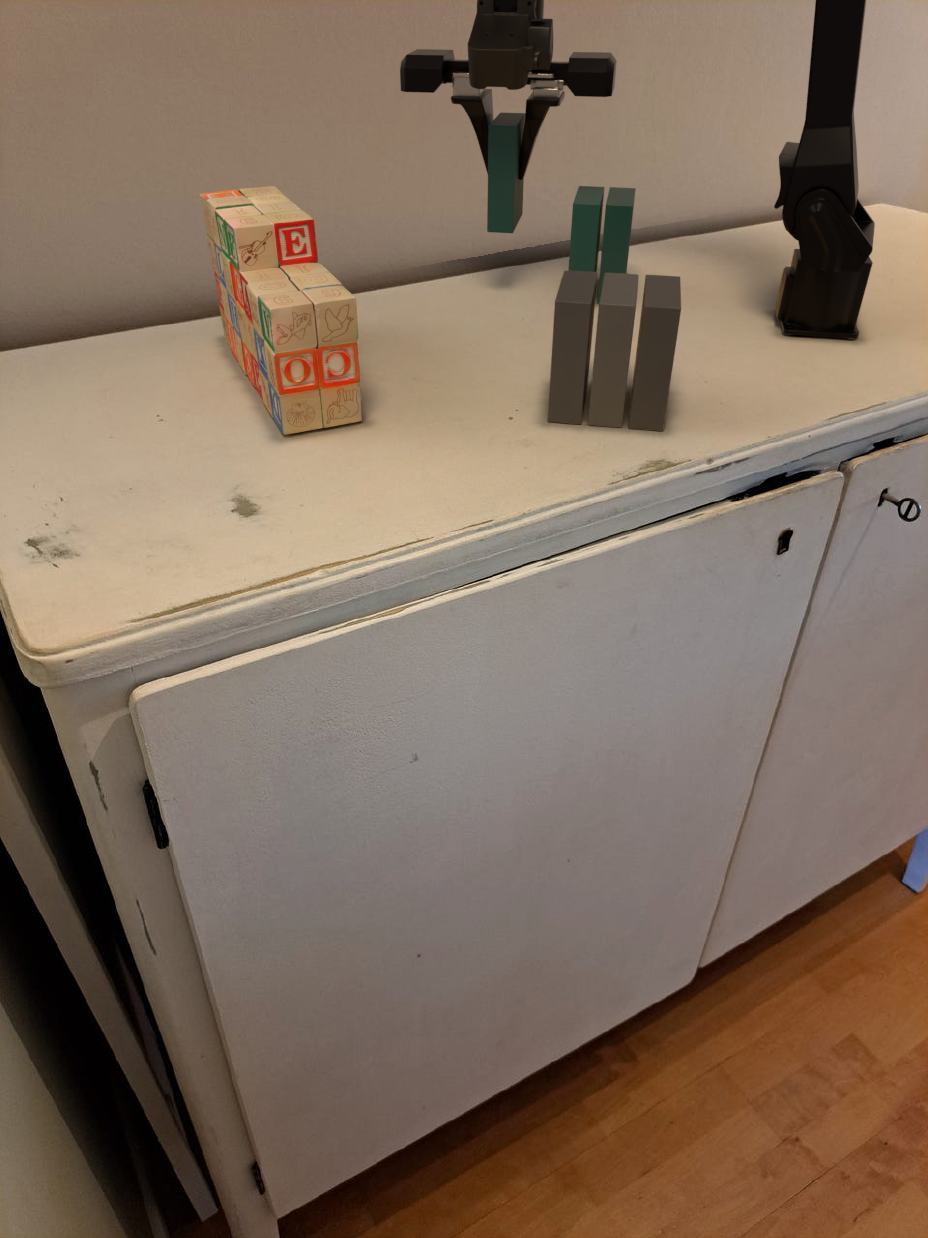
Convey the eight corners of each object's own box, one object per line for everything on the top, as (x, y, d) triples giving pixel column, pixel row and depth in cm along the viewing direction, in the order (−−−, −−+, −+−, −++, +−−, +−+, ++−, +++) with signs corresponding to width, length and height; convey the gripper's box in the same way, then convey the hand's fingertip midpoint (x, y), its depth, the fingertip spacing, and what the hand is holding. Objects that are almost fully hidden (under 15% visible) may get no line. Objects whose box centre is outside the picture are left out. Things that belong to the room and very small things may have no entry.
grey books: (663, 392, 71) (680, 276, 66) (663, 431, 66) (681, 308, 61) (556, 384, 73) (564, 269, 67) (547, 422, 67) (554, 300, 62)
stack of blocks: (365, 423, 67) (353, 250, 59) (282, 438, 65) (259, 262, 57) (291, 328, 82) (274, 182, 75) (223, 338, 81) (198, 189, 73)
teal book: (522, 214, 90) (526, 112, 85) (513, 233, 85) (516, 126, 80) (497, 213, 91) (499, 112, 85) (487, 232, 85) (488, 125, 80)
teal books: (625, 282, 93) (635, 187, 87) (622, 305, 88) (633, 205, 82) (572, 279, 94) (578, 185, 88) (566, 301, 88) (572, 203, 83)
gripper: (379, -20, 71) (390, 194, 81) (618, -18, 68) (600, 203, 78) (411, -27, 80) (417, 167, 89) (624, -25, 77) (607, 174, 87)
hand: (506, 178), depth 86 cm, fingers closed on teal book, 2 cm apart
